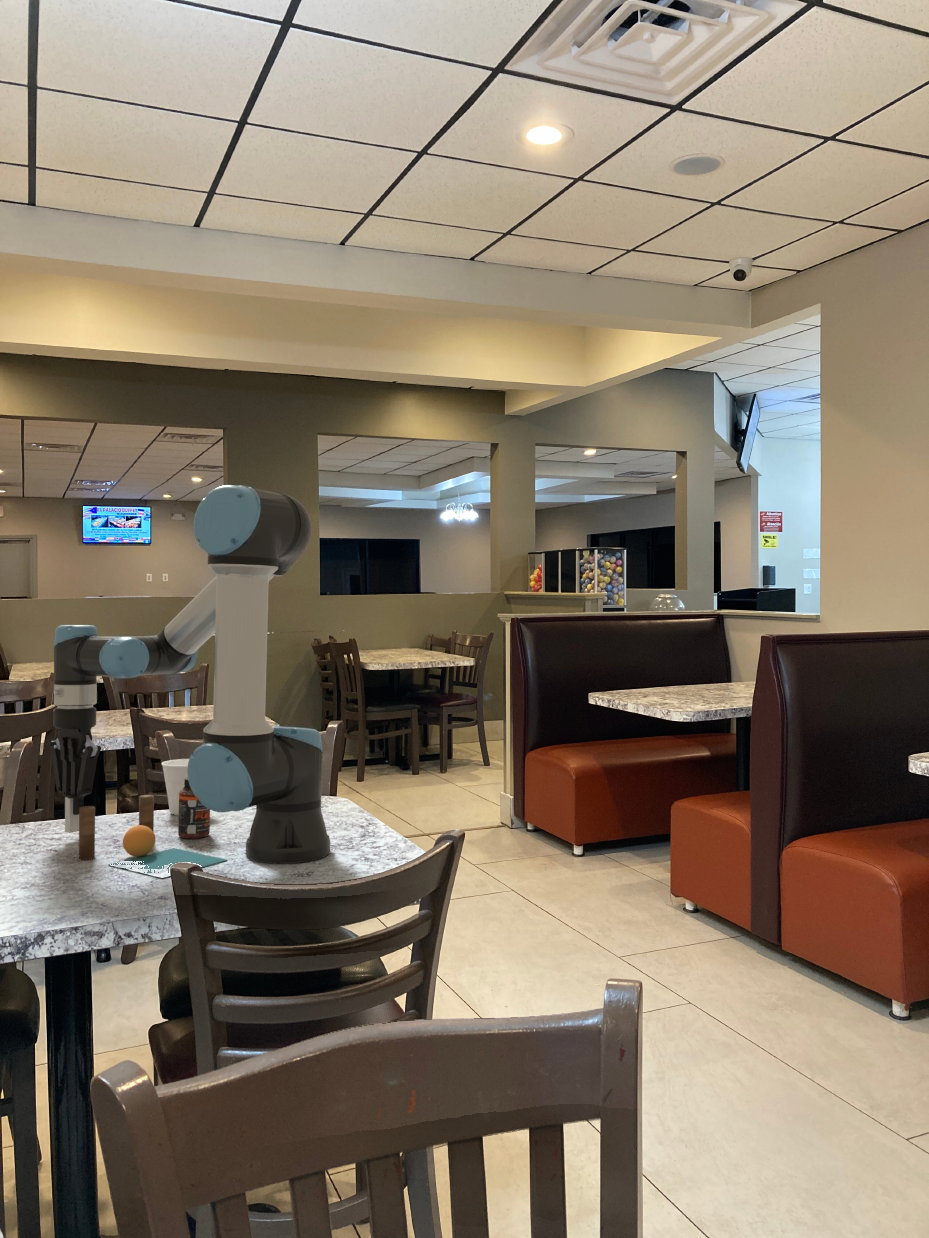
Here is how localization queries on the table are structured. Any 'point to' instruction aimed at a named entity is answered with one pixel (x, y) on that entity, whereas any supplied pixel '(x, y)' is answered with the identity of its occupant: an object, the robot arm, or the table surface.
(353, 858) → the table surface
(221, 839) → the table surface
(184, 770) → the cup
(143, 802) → the post right
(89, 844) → the post left
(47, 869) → the table surface
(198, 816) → the supplement bottle
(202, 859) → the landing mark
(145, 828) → the ball
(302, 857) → the robot arm
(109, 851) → the table surface
